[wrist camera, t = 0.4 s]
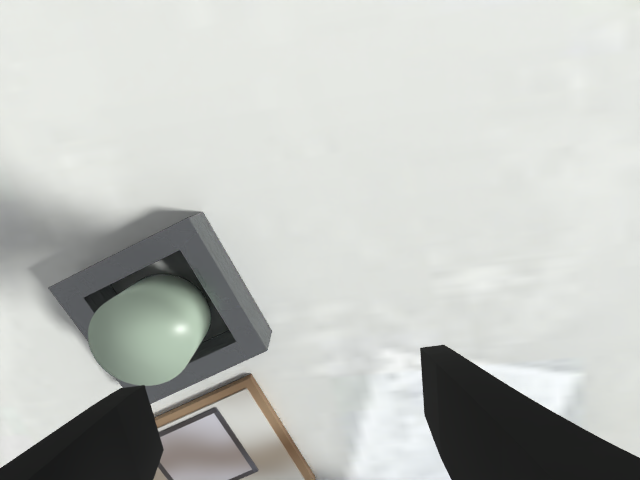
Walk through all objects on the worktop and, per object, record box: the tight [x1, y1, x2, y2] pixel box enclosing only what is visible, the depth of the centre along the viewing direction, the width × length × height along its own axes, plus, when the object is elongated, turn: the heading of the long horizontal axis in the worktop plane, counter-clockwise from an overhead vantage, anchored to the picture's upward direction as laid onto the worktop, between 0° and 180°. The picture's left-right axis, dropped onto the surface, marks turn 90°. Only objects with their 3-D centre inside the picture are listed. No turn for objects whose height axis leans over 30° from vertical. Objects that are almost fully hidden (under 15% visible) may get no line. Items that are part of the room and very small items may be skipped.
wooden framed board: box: [153, 374, 315, 480], centre depth 20 cm, size 9×10×1 cm
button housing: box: [49, 212, 272, 404], centre depth 17 cm, size 8×8×2 cm
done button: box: [88, 274, 211, 386], centre depth 15 cm, size 5×5×3 cm
